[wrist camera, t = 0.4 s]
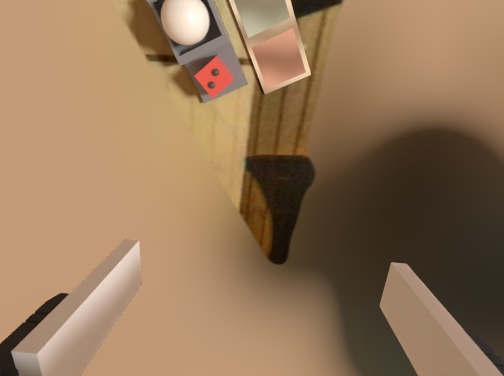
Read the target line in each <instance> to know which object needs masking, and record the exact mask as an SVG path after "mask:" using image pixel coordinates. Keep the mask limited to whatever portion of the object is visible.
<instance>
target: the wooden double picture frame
mask: <svg viewBox="0 0 504 376" xmlns="http://www.w3.org/2000/svg"><path fill="white" fill-rule="evenodd" d="M229 1H230V4H231V7H232V9H233V12H234V15H235V17H236V20H237V22H238V25H239V28H240V30H241V33H242V36H243V38H244V41H245V43H246V46H247V49H248V51H249V54H250V57H251V59H252V62H253V65H254V67H255V70H256V72H257V75H258V78H259V80H260V83H261V86H262V88H263V91H264V93H265V94H267V93H269V92H272V91H274V90H276V89H279V88H281V87H283V86H286V85H288V84H290V83H293V82H295V81H297V80H300V79H302V78H304V77H307V76H309V75H311V73H310V69H309V66H308V62H307V58H306V55H305V51H304V48H303V44H302V41H301V37H300V33H299V30H298V26H297V23H296V19H295V16H294V12H293V8H292V5H291V1H290V0H229Z"/></svg>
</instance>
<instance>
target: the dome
mask: <svg viewBox="0 0 504 376" xmlns="http://www.w3.org/2000/svg"><path fill="white" fill-rule="evenodd" d="M161 22H162V25H163V28H164V30H165V32H166V33H167V35H168V36H169V37H170V38H171V39H172V40H173V41H175V42H177V43H178V44H181V45H193V44H195V43H198V42H200V41H201V40H203V39H204V38H205V36H206V35H207V33H208V31H209V27H210V16H209V12H208V10H207V7H206V6H205V4H204V3H203V2H202V1H201V0H165V1H164V3H163V6H162V9H161Z"/></svg>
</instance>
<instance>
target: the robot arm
mask: <svg viewBox="0 0 504 376" xmlns="http://www.w3.org/2000/svg"><path fill="white" fill-rule="evenodd" d="M141 285H142V280H141V265H140V250H139V240H127V239H125V240H123V241H122V242H121V243H120V244H119V245H118V246H117V247H116V248H115V249H114V250H113V251H112V252H111V253H110V254H109V255H108V256H107V257H106V258H105V259H104V260H103V261H102V262H101V263H100V264H99V265H98V266H97V267H96V268H95V269H94V270H93V271H92V272H91V273H90V274H89V275H88V276H87V277H86V278H85V279H84V280H83V281H82V282H81V283H80V284H79V285H78V286H77V287H76V288H75V289H74V290H73V291H72V292H71V293H70V294H66V293H60V294H58V295H57V296H55V297H53V298H52V299H50V300H48V301H46V302H45V303H44V304H43V305H42V306H41V307H40V308H39V309H38V310H36V312H35V314H32V315H31V316H30V317H29V318H28V319H27V320H26V322H25V323H23V324H21V325H20V326H19V327H18V328H17V329H16V330H15V331H14V332H13V333H12V334H11V335H9V336H8V338H6V339H5V340H4V341H3V342H2V343H1V344H0V376H81V375H82V373H83V372H84V370H85V369H86V367H87V366H88V364H89V363H90V361H91V360H92V358H93V357H94V355H95V354H96V352H97V351H98V349H99V348H100V346H101V345H102V343H103V342H104V340H105V339H106V337H107V336H108V334H109V333H110V331H111V330H112V328H113V327H114V325H115V324H116V322H117V321H118V319H119V318H120V316H121V315H122V313H123V312H124V310H125V309H126V307H127V306H128V305H129V303H130V302H131V300H132V298H133V297H134V295H135V294H136V292H137V291H138V290H139V288H140V286H141ZM380 308H381V309H382V311H383V313H384V315H385V317H386V318H387V320H388V322H389V324H390V326H391V327H392V329H393V331H394V333H395V335H396V336H397V338H398V340H399V342H400V343H401V345H402V347H403V349H404V351H405V352H406V354H407V356H408V358H409V360H410V361H411V363H412V365H413V367H414V369H415V370H416V372H417V374H418V376H504V361H503V360H502V359H501V358H500V356H497V353H496V352H495V351H494V350H493V349H492V348H491V347H490V346H489V345H488V344H487V342H486V341H485V340H483V339H482V338H481V337H479V336H478V335H477V334H475V333H474V332H473V331H471V330H467V329H462V327H461V326H460V325H459V324H458V323H457V322H456V321H455V319H454V318H453V317H452V316H451V315H450V314H449V313H448V311H447V310H446V309H445V308H444V307H443V306H442V304H441V303H440V302H439V301H438V300H437V299H436V297H434V295H433V294H432V293H431V292H430V291H429V289H428V288H427V287H426V286H425V285H424V284H423V282H422V281H421V280H420V279H419V278H418V277H417V276H416V274H415V273H414V272H413V271H412V270H411V269H410V267H409V266H408V265H407V264H402V263H391V266H390V269H389V273H388V277H387V281H386V284H385V288H384V292H383V295H382V299H381V303H380Z"/></svg>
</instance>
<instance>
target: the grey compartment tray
mask: <svg viewBox="0 0 504 376" xmlns="http://www.w3.org/2000/svg"><path fill="white" fill-rule="evenodd" d="M146 1H147V3H148V5H149V6H150V8H151V10H152V12H153V14H154V16H155V18H156V20H157V22H158V24H159V26H160V28H161V30H162V32H163V34H164V36H165V38H166V39H167V41H168V43H169V45H170V47H171V49H172V51H173V53H174V55H175V57H176V59H177V61H178V63H179V65H180V66H182V65H185V67H186V69H187V71H188V73H189V75H190V77H191V79H192V80H193V82H194V84H195V86H196V88H197V90H198V92H199V94H200V96H201V98H202V100H203V102H204V103H206V102H208V101H210V100H213V99H215V98H217V97H219V96H222V95H224V94H226V93H229V92H231V91H233V90H235V89H238V88H240V87H242V86H244V85H247V84H248V83H247V81H246V78H245V76H244V73H243V71H242V68H241V66H240V63H239V61H238V58H237V56H236V53H235V51H234V48H233V46H232V43H231V41H230V39H229V36H228V34H227V31H226V29H225V26H224V24H223V21H222V19H221V16H220V14H219V11H218V9H217V6H216V4H215V1H214V0H201V1H202V2H203V3H204V4H205V6H206V7H207V10H208V12H209V16H210V27H209V31H208V33H207V35H206V36H205V38H204V39H203V40H201V41H200V42H198V43H195V44H193V45H181V44H178V43H177V42H175V41H173V40H172V39H171V38H170V37H169V36H168V35H167V33H166V32H165V30H164V28H163V25H162V22H161V9H162V6H163V3H164V1H165V0H146Z"/></svg>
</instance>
